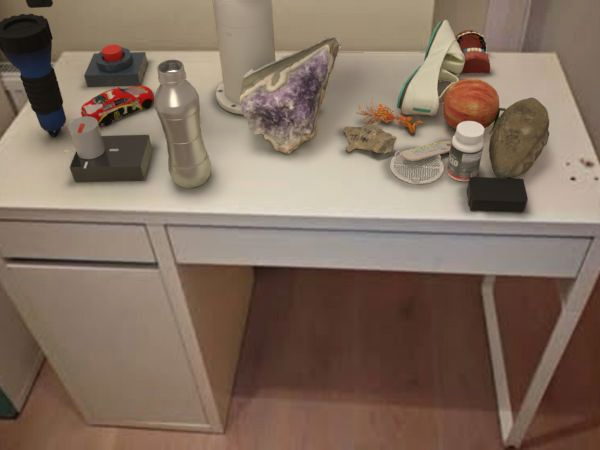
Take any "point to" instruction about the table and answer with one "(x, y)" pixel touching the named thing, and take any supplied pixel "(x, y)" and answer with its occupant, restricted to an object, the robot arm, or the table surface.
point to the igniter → (116, 70)
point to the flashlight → (34, 66)
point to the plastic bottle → (181, 125)
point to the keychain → (427, 151)
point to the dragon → (389, 117)
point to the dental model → (474, 52)
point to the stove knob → (87, 137)
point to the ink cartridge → (496, 194)
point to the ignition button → (112, 53)
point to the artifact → (369, 138)
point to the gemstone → (289, 95)
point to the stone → (518, 138)
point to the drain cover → (417, 180)
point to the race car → (118, 103)
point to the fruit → (471, 103)
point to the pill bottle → (466, 151)
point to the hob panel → (115, 160)
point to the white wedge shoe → (432, 73)
